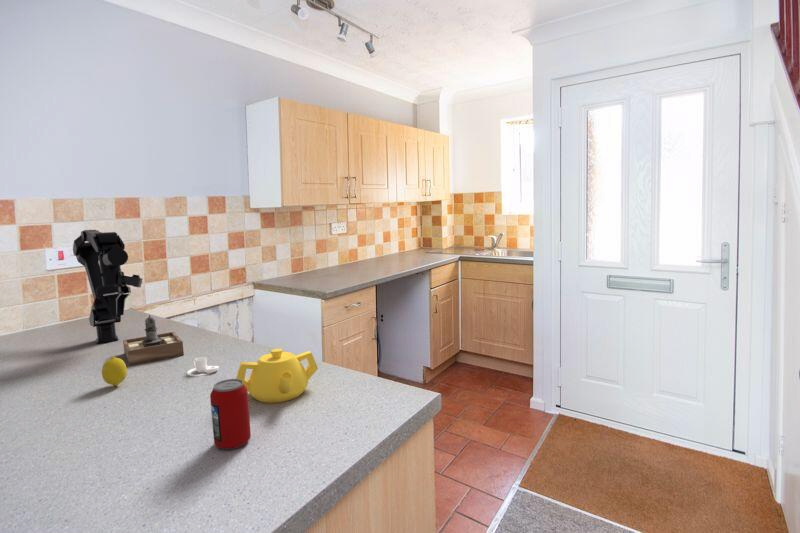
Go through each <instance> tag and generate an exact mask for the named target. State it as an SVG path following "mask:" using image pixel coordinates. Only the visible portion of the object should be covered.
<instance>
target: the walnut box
mask: <svg viewBox="0 0 800 533" xmlns="http://www.w3.org/2000/svg"><path fill="white" fill-rule="evenodd" d="M157 336H158V338H162V341H161V345H156V346H150V347H144V346H143V343H142V341H143V340H145V339H146V336H139V337H136V338H129V339H127V338H126V339H123V340H122V343H123V352H124V356H125V358H126V361H127V363H128V366H130V367H131V366H135V365H139V364H145V363H149V362H156V361H160V360H161V361H162V360H165V359H170V358H176V357H177V358H178V357H180V356H184V343H183V342H184V341H183V340H182V339H181V338H180V337H179V336H178V335H177V334H176V332H175V331H171V332H165V333H157Z"/></svg>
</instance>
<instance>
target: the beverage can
mask: <svg viewBox="0 0 800 533" xmlns="http://www.w3.org/2000/svg"><path fill="white" fill-rule="evenodd" d="M212 387H213V388H212V390H211V392H210V395H209V397H210V410H211V412H210V413H211V422H212V423H211V424H212V434H213V442H214V445H215V446H216V447H217V448H220V449H222V450H234V449H237V448H240V447H242V446H243V445H245V444H246V443H248V441H249V440H250V439H251V436H252V434H251V420H250V405H249V394H248V393H249V392H248V391H247V388H246V386H245V385H244V384H243V381H242V380H240V379H236V378H230V379H229V378H228V379H224V380H223V379H222V380H221V381H218V382H216V383H214V384H213V386H212Z"/></svg>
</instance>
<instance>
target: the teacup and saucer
mask: <svg viewBox="0 0 800 533" xmlns="http://www.w3.org/2000/svg"><path fill="white" fill-rule="evenodd" d="M193 365H194V368H191V369H189V370H188V371H187V372H186V375H187V376H189V377H190V376H191V377H202V376H206V375H210V374H213V373H215V372H217V371H218V370H219V369H220V367H219V366H218V365H208V358H207V357H205V356H200V357H196V358H194V359H193ZM195 370H196V371H197V373H203V374H193V373H192V372H194V371H195ZM204 372H205V373H204Z"/></svg>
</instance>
